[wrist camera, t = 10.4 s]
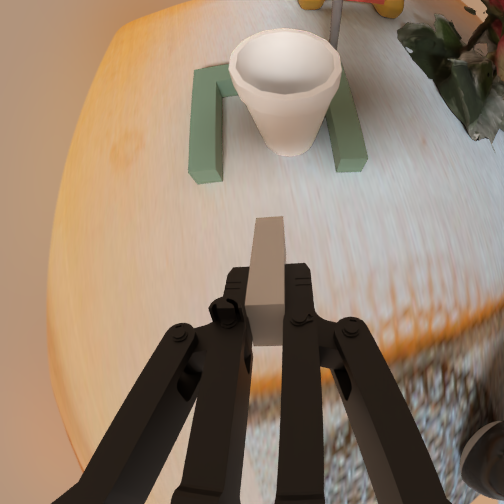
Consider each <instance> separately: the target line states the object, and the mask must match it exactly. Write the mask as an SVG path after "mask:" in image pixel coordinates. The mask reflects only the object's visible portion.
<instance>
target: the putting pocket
mask: <svg viewBox="0 0 504 504" xmlns="http://www.w3.org/2000/svg"><path fill="white" fill-rule="evenodd" d="M347 1H358V2H367V3H375V4H382V5H384V2H385V0H347ZM342 3H343V0H333V4H332V16H331V27H330V38H329V43H330V44H331V45H332V46H333V48H334V49H335V50H336V51H337V44H338V36H339V29H340V20H341V12H342ZM340 61H341V60H340ZM228 68H229V64H225V65H219V66H213V67H208V68H202V69H197V70H194V78H193V90H192V104H191V119H190V138H189V164H188V173H189V174H190V175H191V177H192V178H193V179H194V180H195V182H196V183H197V184H204V183H212V182H221V181H223V167H222V97H228V96H235V95H238V93H237V91H236V89H235V88H234V86H233V82H232V79H231V76H230V73H229V70H228ZM341 68H342V73H341V79H340V84H339V88H338V90H337V92H336V93H335V95H334V97H333V98H332V100H331V102H330V105H329V107H328V110H327V112H326V120H327V125H328V130H329V135H330V140H331V145H332V151H333V157H334V162H335V168H336V172H361V171H362V169H363V167H364V165H365V163H366V162H367V160H368V156H367V151H366V147H365V143H364V138H363V134H362V130H361V126H360V122H359V119H358V115H357V111H356V108H355V104H354V101H353V97H352V94H351V91H350V87H349V84H348V81H347V78H346V75H345V72H344V69H343V66H342V63H341Z"/></svg>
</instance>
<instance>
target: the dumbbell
mask: <svg viewBox="0 0 504 504" xmlns="http://www.w3.org/2000/svg"><path fill="white" fill-rule="evenodd" d="M324 1H325V0H298V2H299V4H300V6H301V8H302V9H305V10H316V9H319V8H320V7H321V6H322V5H323V3H324ZM372 4H373V5H374V7H375V9H376V10H377V12H378V13H379V14H380V15H381V16H383V17H387V18H393V19H394V18H396V17H398V16H399V15H400V14H401V13H402V11H403V8H404V0H385V2H384V5H382V4H375V3H372Z"/></svg>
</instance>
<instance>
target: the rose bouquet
mask: <svg viewBox="0 0 504 504" xmlns="http://www.w3.org/2000/svg"><path fill="white" fill-rule="evenodd" d="M481 1H482V2H483V3H484V4H485V6H486V7H487V10H486V13H487V14H488V16H487V18H486V19H485V21H484V22H483V23H482V24H480V25H479V27H478V28H477V29H476V30H475V31H474V32H473V35H472V36H471V38H470V39H469V41H468V44H467V45H466V44H465V43H463V42H462V41H461V39H462V38H461V36H460V35H459V34H458V32H457V31H456V29H455V28H454V25H453V23H452V22H450V21H448V20H447V19H445V17H444V16H443V15H441V14H434V16H435V17H436V21H435V24H434V26H435V28H436V32H434V30H433V29H432V28H431V27H430V26H429V25H428V24H424V23H421V24H413V23H412V24H411V23H409V22H408V23H406V24H405V26H404V27H403V28H401V29H399V30H397V32H398V40H399V41H400V42H401V44H402V45H403V46H404V48H405V47H408V48H410V49H411V50H413V53H409V52H408V51H407V50H406V51H407V52H408V53H409V55H410V56H411V58H412V59H413V60H414V61H415V62H416V63H417V65H418V66H419V67H420V68H421V69H422V70H423V71H424V73H425V74H426V75H427V77H428V78H430V79H433V82H434V83H435V84H436V86H437V87H438V89H439V91H440V93H441V95H442V97H443V99H444V100H445V102H446V103H447V105H448V107H449V108H450V109H451V111H452V112H453V113H454V114H455V116H456V117H457V118H458V119H459V120H461V121H462V123H463V124H464V125H465V126H466V129H467V131H468V133H469V135H470V136H471V138H472V139H473V140H474V141H477V140H480V139H481V138H482V139H484V138H487V139H488V138H489V139H490V142H491V145H492V143H493V140H494V138H495V135H496V134H497V132H498V130H499V128H500V129H501V130H502V131H504V0H481ZM464 8H465V10H466V11H468V12H469V13H471V14H473V15H476V13H475V12H476V11H475V10H473V9H472V8H469V7H466V6H464ZM451 21H452V20H451ZM477 43H487V47H488V53H487V55H486V56H482V55H481V54H480V55H481V56H482V57H481V56H479V55H478V54H479V53H478V52H476V51H475V50H474V46H475V45H476V44H477ZM405 49H406V48H405ZM478 50H480V49H478ZM480 51H481V50H480ZM481 52H482V51H481ZM477 53H478V54H477ZM492 147H493V146H492ZM493 150H494V148H493ZM494 151H495V150H494Z"/></svg>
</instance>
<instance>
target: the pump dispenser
mask: <svg viewBox="0 0 504 504" xmlns="http://www.w3.org/2000/svg"><path fill="white" fill-rule="evenodd" d="M460 470H461V476H462V480H463V481H464V482H465V483H466V484H467V485H468V486H469V487H470V488H472V489H473V490H475V491H476V492H478V493H480V494H482V495H484V496H486V497H489V498H492V499H496V500H503V501H504V421H495V422H492V423H489V424H487V425H485V426H483V427H482V428H481V429H479V430H478V431H477V432H476V433H475V434H474V435H473V436H472V437H471V438H470V440H469V441H468V442H467V444H466V446H465V447H464V450H463V452H462V455H461V459H460Z"/></svg>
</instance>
